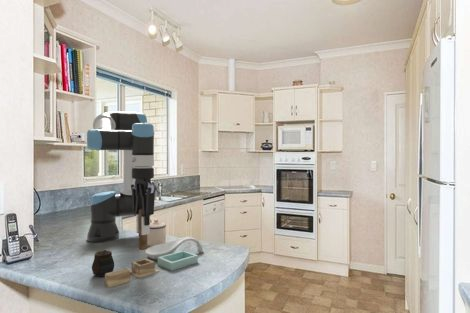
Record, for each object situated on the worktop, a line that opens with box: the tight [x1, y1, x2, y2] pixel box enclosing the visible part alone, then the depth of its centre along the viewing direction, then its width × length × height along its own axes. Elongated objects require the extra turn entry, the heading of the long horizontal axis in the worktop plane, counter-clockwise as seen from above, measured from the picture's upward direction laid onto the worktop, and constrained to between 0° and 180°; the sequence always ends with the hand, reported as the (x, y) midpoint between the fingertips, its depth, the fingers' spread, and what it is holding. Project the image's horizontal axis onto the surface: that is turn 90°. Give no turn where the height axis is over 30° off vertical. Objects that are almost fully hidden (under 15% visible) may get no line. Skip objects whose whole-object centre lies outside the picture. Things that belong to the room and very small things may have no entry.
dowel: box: [138, 209, 148, 251], centre depth 111 cm, size 3×3×14 cm
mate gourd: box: [91, 249, 115, 278], centre depth 109 cm, size 7×8×10 cm
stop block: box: [104, 267, 131, 288], centre depth 101 cm, size 3×7×4 cm, turn 136°
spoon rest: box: [144, 236, 204, 261], centre depth 130 cm, size 24×12×7 cm, turn 117°
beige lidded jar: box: [147, 218, 167, 247], centre depth 147 cm, size 12×9×12 cm
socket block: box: [129, 257, 160, 279], centre depth 111 cm, size 8×8×4 cm
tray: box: [157, 250, 199, 272], centre depth 119 cm, size 9×12×3 cm
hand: (142, 233), depth 111 cm, fingers closed on dowel, 3 cm apart
